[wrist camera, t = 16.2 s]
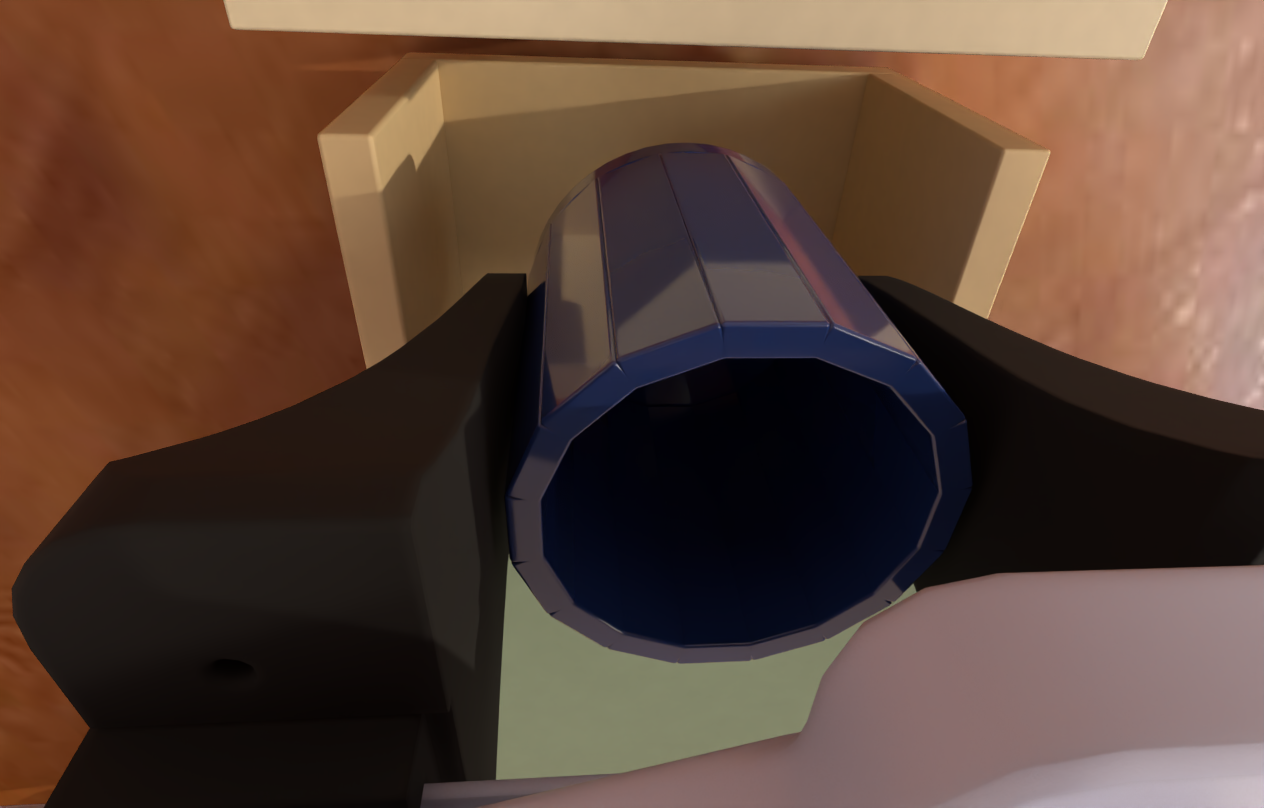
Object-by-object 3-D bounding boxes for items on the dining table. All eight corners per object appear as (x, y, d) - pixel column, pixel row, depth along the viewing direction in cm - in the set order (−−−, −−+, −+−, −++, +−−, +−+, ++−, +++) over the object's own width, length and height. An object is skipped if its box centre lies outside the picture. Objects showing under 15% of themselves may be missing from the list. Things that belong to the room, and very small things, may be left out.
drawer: (297, -462, 11) (-9, -872, 5) (1028, -396, 12) (1457, -679, 6) (436, 436, 22) (387, 633, 16) (821, 431, 23) (908, 614, 17)
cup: (524, 137, 11) (487, 323, 6) (844, 144, 11) (1048, 323, 7) (536, 405, 14) (519, 672, 9) (789, 403, 14) (901, 656, 10)
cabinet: (401, 295, 20) (303, 524, 13) (860, 298, 21) (1016, 508, 14) (455, 618, 28) (415, 867, 21) (781, 607, 30) (851, 841, 22)
